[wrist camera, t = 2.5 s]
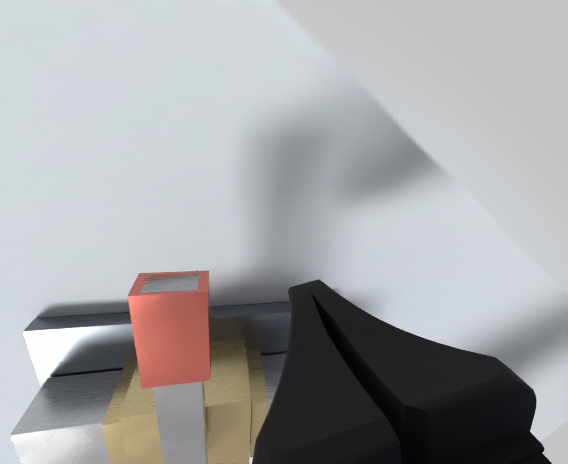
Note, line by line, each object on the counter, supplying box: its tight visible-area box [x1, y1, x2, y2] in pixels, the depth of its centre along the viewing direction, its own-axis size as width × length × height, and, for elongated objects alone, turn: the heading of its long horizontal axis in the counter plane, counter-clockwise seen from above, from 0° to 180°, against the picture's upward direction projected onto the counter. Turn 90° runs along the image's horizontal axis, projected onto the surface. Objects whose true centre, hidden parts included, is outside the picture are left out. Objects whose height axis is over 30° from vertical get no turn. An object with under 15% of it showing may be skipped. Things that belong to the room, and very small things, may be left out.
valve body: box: [10, 302, 291, 464], centre depth 16 cm, size 16×9×5 cm, turn 86°
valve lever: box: [128, 271, 211, 464], centre depth 11 cm, size 11×2×2 cm, turn 176°
